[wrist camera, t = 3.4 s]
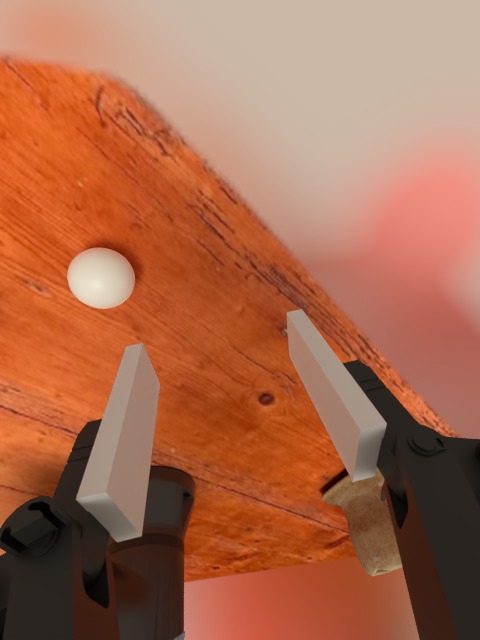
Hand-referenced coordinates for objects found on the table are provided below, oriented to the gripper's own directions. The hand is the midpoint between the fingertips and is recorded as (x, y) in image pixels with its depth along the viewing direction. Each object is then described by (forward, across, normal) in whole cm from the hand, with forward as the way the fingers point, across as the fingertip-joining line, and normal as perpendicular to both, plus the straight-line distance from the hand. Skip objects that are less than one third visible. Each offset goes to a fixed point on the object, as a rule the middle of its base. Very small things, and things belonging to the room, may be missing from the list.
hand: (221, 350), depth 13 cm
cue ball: (+14, +10, 0) cm, 17 cm away
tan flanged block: (+17, -21, +54) cm, 61 cm away
